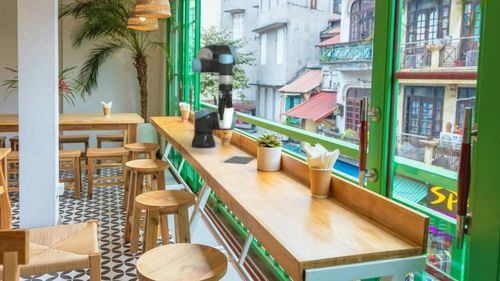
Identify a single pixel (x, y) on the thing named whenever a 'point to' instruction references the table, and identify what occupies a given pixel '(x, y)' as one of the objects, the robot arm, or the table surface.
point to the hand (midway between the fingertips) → (225, 125)
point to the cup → (227, 117)
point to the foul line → (227, 158)
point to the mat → (239, 160)
